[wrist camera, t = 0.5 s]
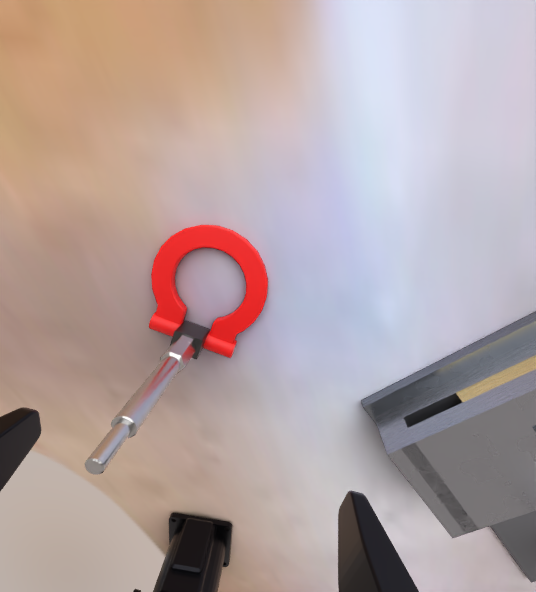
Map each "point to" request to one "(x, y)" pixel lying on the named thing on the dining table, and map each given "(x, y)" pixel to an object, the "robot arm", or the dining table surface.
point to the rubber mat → (520, 541)
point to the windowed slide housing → (468, 430)
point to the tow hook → (185, 326)
